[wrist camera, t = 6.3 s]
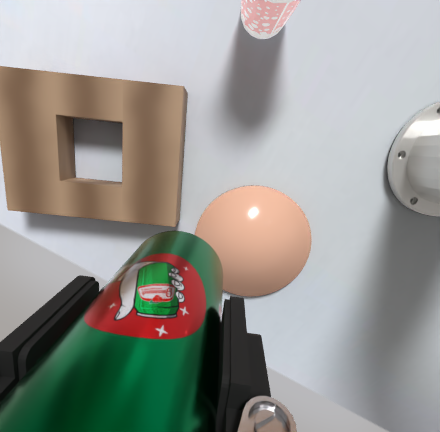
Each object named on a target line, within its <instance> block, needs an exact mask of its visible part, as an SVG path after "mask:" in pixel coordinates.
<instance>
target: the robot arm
mask: <svg viewBox="0 0 440 432" xmlns="http://www.w3.org/2000/svg"><path fill="white" fill-rule="evenodd" d="M387 171H388V180H389V183H390V187H391V189H392V191H393V193H394V195H395V196H396V198H397V199H398V200H399V201H400V202H401V203H402V204H403V205H405V206H406V207H407V208H409V209H411V210H413V211H416V212H418V213H421V214H425V215H429V216H440V102H437V103H434V104H432V105H430V106H428V107H426V108H424V109H423V110H421V111H420V112H419V113H417V114H416V115H414V116H413V117H412V118H411V119H410V120H409V121H408V122H407V123H406V124H405V125H404V127H403V128H402V130H401V131H400V132H399V134H398V135H397V137H396V139H395V141H394V143H393V145H392V148H391V151H390V154H389V158H388V166H387ZM98 293H99V283H98V282H97V281H95V278H94V277H88V276H78V277H76V278H75V279H74V280H73V281H72V282H70V283H69V284H68V285H67V286H66V287H65V288H63V289H62V290H61V291H60V292H59V293H57V294H56V295H55V296H54V297H53V298H52V299H51V300H49V301H48V302H47V303H46V304H45V305H44V306H42V307H41V308H40V309H39V310H38V311H36V312H35V313H34V314H33V315H32V316H30V317H29V318H28V319H27V320H26V321H25V322H23V324H21V325H20V326H19V327H18V328H16V329H15V330H14V331H13V332H12V333H11V334H9V335H8V336H7V337H6V338H5V339H4V340H2V341H1V342H0V402H1V401H2V400H3V399H4V398H5V397H6V396H7V394H8V393H9V392H10V391H11V390H12V389H13V388H14V387H15V386H16V384H17V383H18V382H19V381H20V380H21V379H22V378H23V377H24V375H25V374H26V373H27V372H28V371H29V370H30V369H31V368H32V366H33V365H34V364H35V363H36V362H37V361H38V360H39V359H40V358H41V356H42V355H43V354H44V353H45V352H46V351H47V350H48V349H49V347H50V346H51V345H52V344H53V343H54V342H55V341H56V340H57V338H58V337H59V336H60V335H61V334H62V333H63V332H64V331H65V330H66V328H67V327H68V326H69V325H70V324H71V323H72V322H73V321H74V319H75V318H76V317H77V316H78V315H79V314H80V313H81V312H82V310H83V309H84V308H85V307H86V306H87V305H88V304H89V303H90V302H91V300H92V299H93V298H94V297H95V296H96V295H97V294H98ZM216 432H297V430H296V423H295V421H294V418H293V416H292V414H291V413H290V412H289V410H288V409H287V408H286V407H285V406H284V405H283V404H282V403H281V402H279V401H278V400H276V399H274V398H271V394H270V388H269V381H268V376H267V369H266V363H265V357H264V350H263V344H262V338H261V335H258V334H251V333H247V329H246V318H245V306H244V298H239V297H232V296H230V300H227V299H225V301H224V308H223V314H222V320H221V334H220V356H219V376H218V395H217V419H216Z"/></svg>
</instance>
